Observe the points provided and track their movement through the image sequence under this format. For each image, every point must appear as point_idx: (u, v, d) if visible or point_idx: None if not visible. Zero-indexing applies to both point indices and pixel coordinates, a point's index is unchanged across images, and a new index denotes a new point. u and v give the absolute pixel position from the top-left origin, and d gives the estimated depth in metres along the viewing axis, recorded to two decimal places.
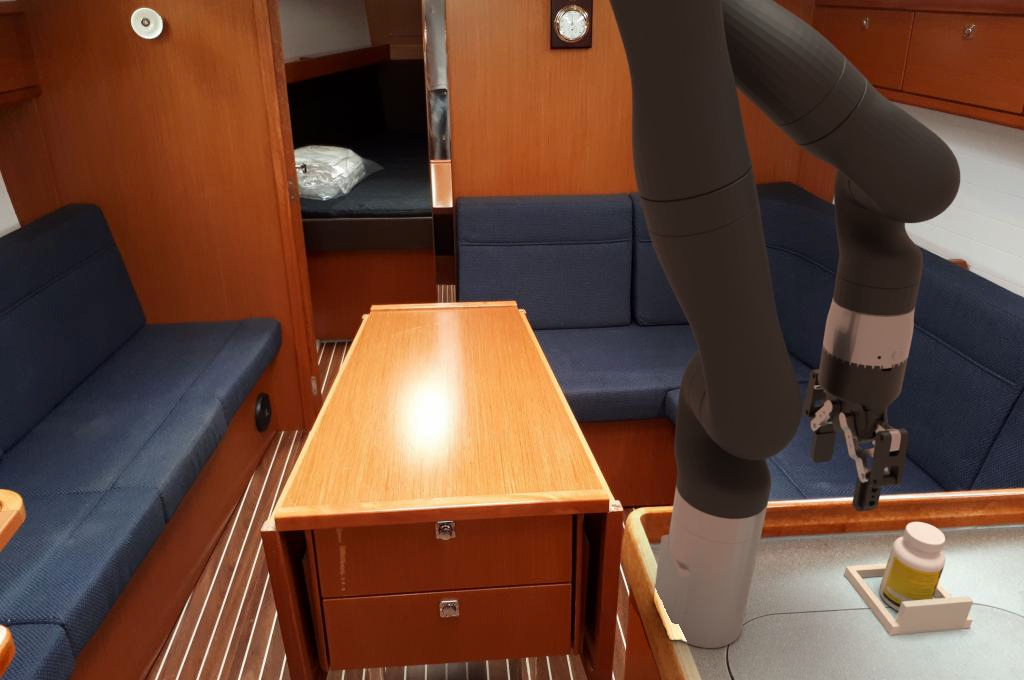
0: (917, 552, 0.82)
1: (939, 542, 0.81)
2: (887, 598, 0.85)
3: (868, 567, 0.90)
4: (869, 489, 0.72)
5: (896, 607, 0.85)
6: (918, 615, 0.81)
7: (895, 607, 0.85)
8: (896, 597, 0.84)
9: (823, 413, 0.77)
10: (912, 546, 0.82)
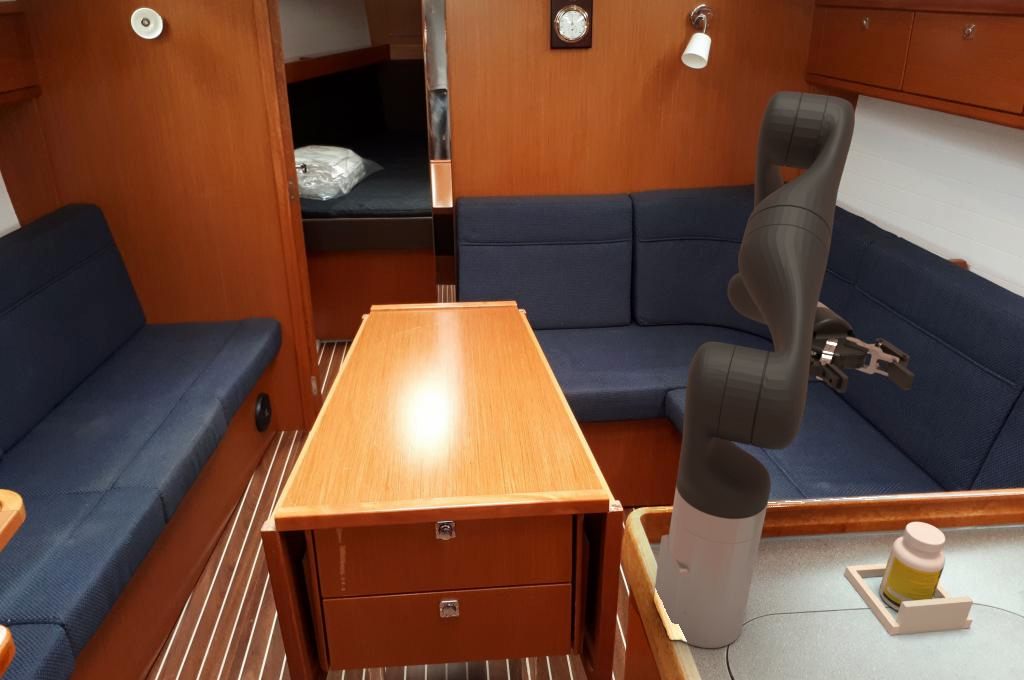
0: (917, 552, 0.82)
1: (939, 542, 0.81)
2: (887, 598, 0.85)
3: (868, 567, 0.90)
4: (903, 367, 0.94)
5: (896, 607, 0.85)
6: (918, 615, 0.81)
7: (895, 607, 0.85)
8: (896, 597, 0.84)
9: (830, 346, 0.96)
10: (912, 546, 0.82)
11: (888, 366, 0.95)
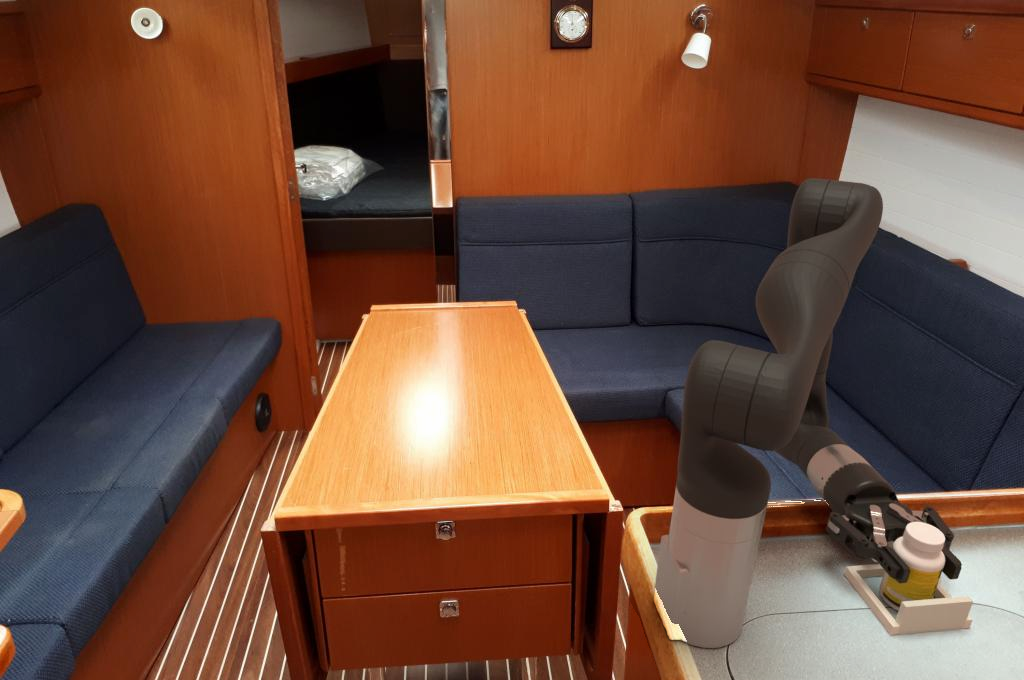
0: (917, 552, 0.82)
1: (939, 542, 0.81)
2: (887, 598, 0.85)
3: (868, 567, 0.90)
4: (947, 549, 0.85)
5: (896, 607, 0.85)
6: (918, 615, 0.81)
7: (895, 607, 0.85)
8: (896, 598, 0.84)
9: (877, 519, 0.88)
10: (912, 546, 0.82)
11: None
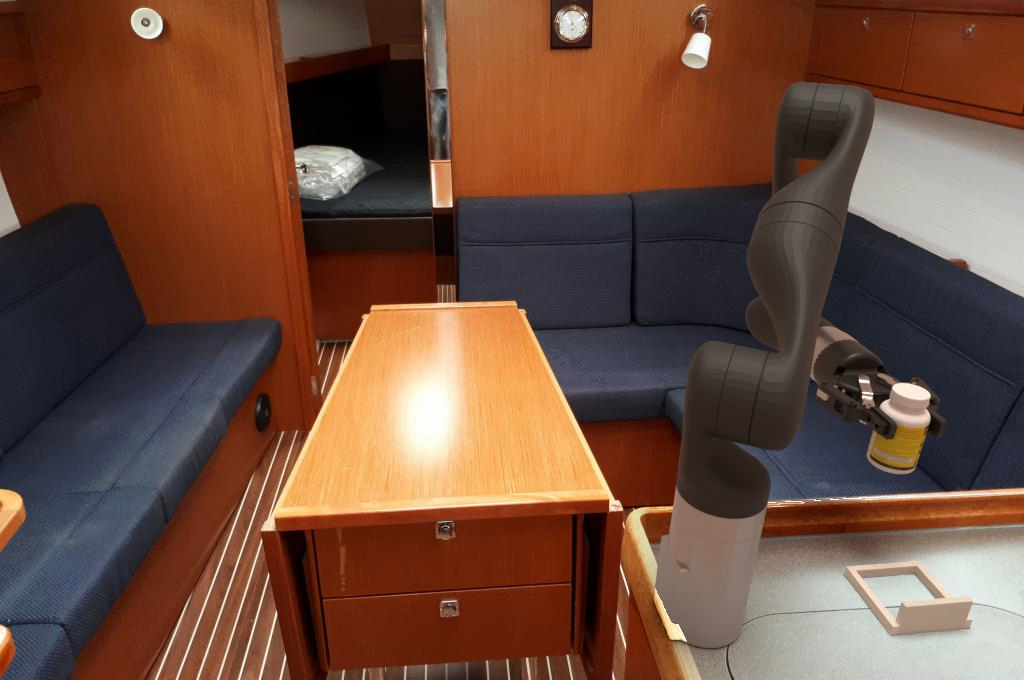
0: (903, 409, 0.84)
1: (924, 398, 0.83)
2: (874, 460, 0.87)
3: (868, 567, 0.90)
4: (933, 411, 0.86)
5: (882, 468, 0.86)
6: (918, 615, 0.81)
7: (881, 467, 0.86)
8: (882, 457, 0.86)
9: (865, 385, 0.89)
10: (898, 403, 0.84)
11: None
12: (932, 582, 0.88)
